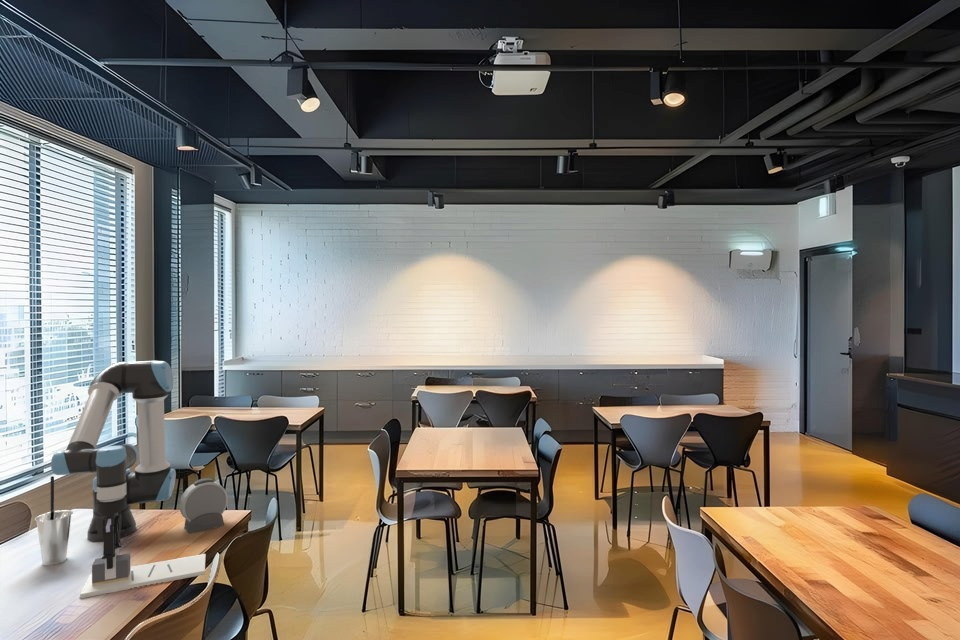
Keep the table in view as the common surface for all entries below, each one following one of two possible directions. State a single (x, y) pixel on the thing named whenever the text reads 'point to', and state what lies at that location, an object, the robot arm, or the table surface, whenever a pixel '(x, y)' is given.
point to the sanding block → (121, 569)
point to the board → (150, 575)
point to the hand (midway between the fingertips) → (112, 574)
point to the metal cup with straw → (53, 532)
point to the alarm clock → (203, 505)
